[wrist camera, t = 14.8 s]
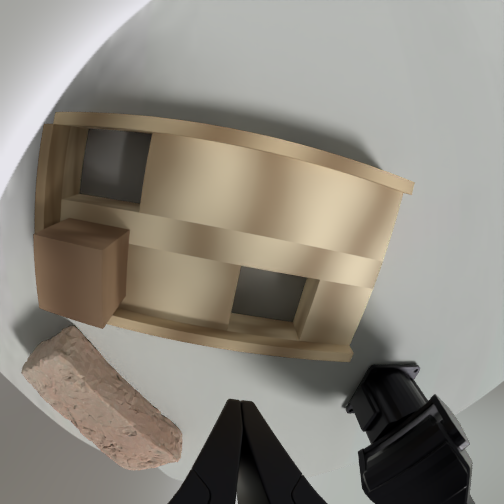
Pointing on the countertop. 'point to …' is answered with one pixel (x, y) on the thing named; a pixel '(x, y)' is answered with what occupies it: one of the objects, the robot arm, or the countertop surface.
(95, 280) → the walnut block
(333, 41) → the countertop surface
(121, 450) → the brick
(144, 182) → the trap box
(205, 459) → the robot arm
